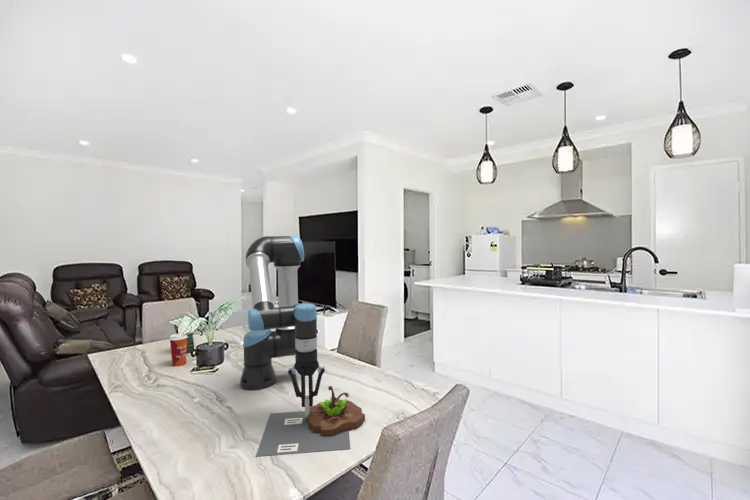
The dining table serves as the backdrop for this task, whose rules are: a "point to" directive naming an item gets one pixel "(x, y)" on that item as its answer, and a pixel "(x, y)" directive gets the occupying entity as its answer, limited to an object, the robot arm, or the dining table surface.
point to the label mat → (297, 436)
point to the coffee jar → (188, 341)
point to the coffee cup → (178, 349)
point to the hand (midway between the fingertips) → (307, 415)
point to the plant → (334, 415)
